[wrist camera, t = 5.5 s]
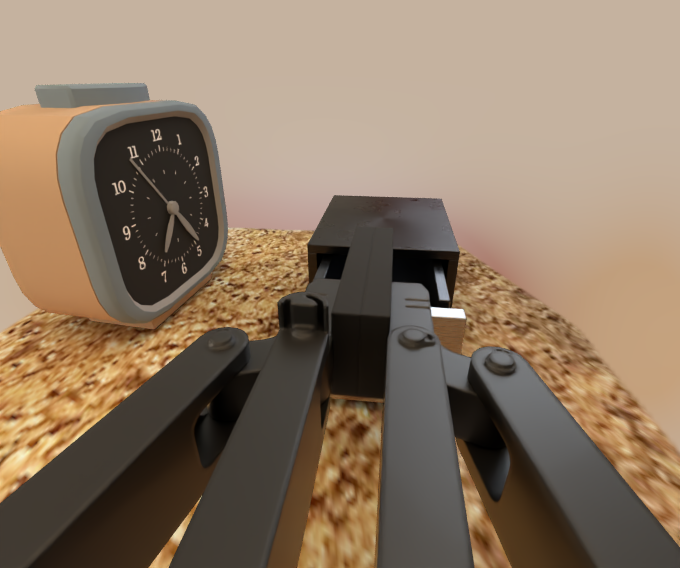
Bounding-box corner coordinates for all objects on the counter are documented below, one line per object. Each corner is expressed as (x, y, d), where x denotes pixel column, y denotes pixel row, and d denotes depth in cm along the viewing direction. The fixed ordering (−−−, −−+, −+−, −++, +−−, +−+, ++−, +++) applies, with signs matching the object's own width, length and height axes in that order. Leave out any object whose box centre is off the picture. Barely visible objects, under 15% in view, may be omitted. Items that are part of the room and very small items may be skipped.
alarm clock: (132, 359, 35) (47, 87, 25) (43, 345, 37) (-70, 87, 27) (235, 263, 53) (210, 82, 43) (172, 257, 55) (133, 82, 44)
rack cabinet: (445, 347, 36) (460, 251, 32) (311, 337, 38) (307, 244, 33) (432, 273, 50) (441, 198, 46) (334, 267, 52) (333, 195, 47)
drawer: (459, 460, 25) (479, 362, 21) (281, 441, 26) (271, 345, 22) (434, 306, 41) (443, 236, 37) (327, 299, 42) (325, 231, 39)
